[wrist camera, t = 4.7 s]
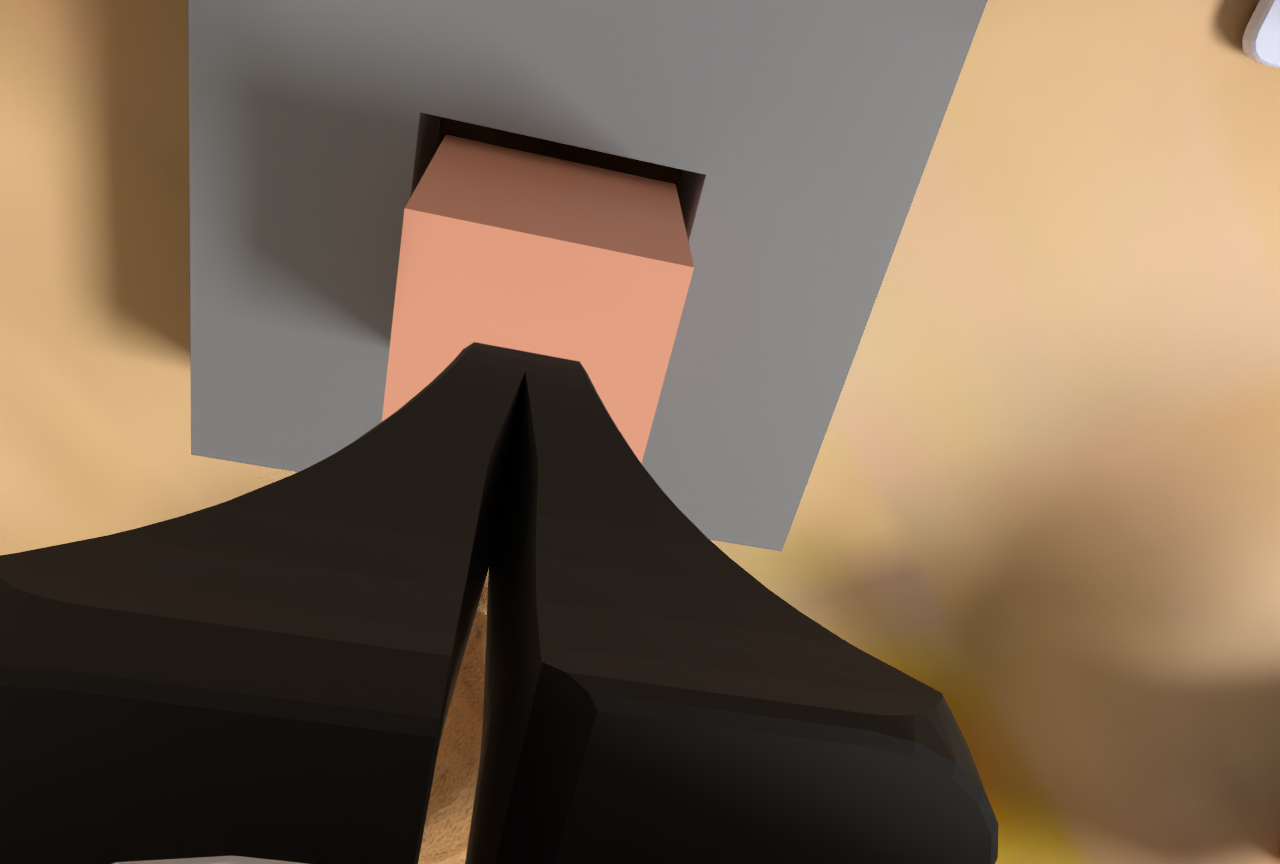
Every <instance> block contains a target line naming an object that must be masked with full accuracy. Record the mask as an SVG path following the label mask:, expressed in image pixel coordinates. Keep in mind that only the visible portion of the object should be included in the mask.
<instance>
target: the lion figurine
mask: <svg viewBox="0 0 1280 864" xmlns="http://www.w3.org/2000/svg"><path fill="white" fill-rule="evenodd" d="M486 629H487V615H486V614H485V613H483V612H482V611H481V610H480V609H479V608H477V611H476V615H475V619H474V622H473V626H472V629H471V633H470V636H469V640H468V643H467V647H466V650H465V654H464V657H463V661H462V664H461V668H460V671H459V675H458V678H457V682H456V685H455V689H454V692H453V696H452V700H451V703H450V707H449V710H448V714H447V717H446V721H445V725H444V729H443V734H442V738H441V742H440V746H439V751H438V755H437V760H436V766H435V771H434V777H433V783H432V788H431V794H430V799H429V805H428V811H427V816H426V822H425V827H424V833H423V839H422V844H421V850H420V855H419V861H418V864H465V860H466V854H467V847H468V840H469V833H470V826H471V819H472V812H473V805H474V798H475V791H476V784H477V777H478V770H479V762H480V752H481V740H482V728H483V707H484V681H485V655H486Z"/></svg>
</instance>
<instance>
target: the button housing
mask: <svg viewBox="0 0 1280 864" xmlns="http://www.w3.org/2000/svg"><path fill="white" fill-rule="evenodd" d="M986 2H987V0H188V34H189V189H190V343H191V455H197V456H203V457H209V458H216V459H222V460H228V461H234V462H240V463H246V464H252V465H258V466H264V467H270V468H277V469H283V470H289V471H295V472H300V471H302V470H304V469H306V468H308V467H310V466H312V465H314V464H316V463H318V462H320V461H322V460H323V459H325V458H327V457H329V456H331V455H333V454H334V453H336V452H338V451H339V450H341V449H343V448H344V447H346V446H347V445H349V444H351V443H352V442H354V441H355V440H357V439H358V438H360V437H361V436H362V435H364V434H365V433H367V432H368V431H370V430H371V429H372V428H374V427H375V426H377V425H378V424H379V423H381V422H382V414H383V405H384V395H385V386H386V377H387V367H388V358H389V349H390V339H391V330H392V321H393V311H394V302H395V293H396V283H397V274H398V265H399V255H400V246H401V237H402V227H403V218H404V208H405V207H406V205H407V203H408V201H409V199H410V198H411V196H412V194H413V192H414V191H415V189H416V187H417V185H418V183H419V182H420V180H421V178H422V176H423V175H424V173H425V171H426V169H427V167H428V166H429V164H430V162H431V160H432V159H433V157H434V155H435V153H436V151H437V144H438V136H439V127H440V119H441V117H444V118H448V119H453V120H458V121H462V122H467V123H471V124H476V125H480V126H485V127H490V128H494V129H499V130H503V131H508V132H512V133H517V134H522V135H526V136H531V137H535V138H540V139H544V140H549V141H554V142H558V143H563V144H567V145H572V146H577V147H581V148H586V149H590V150H595V151H599V152H604V153H609V154H613V155H618V156H622V157H627V158H631V159H636V160H641V161H645V162H650V163H654V164H659V165H663V166H668V167H673V168H677V169H682V174H681V178H680V182H679V186H678V190H677V193H678V197H679V202H680V206H681V211H682V215H683V220H684V224H685V229H686V233H687V238H688V242H689V247H690V251H691V256H692V260H693V265H694V270H693V274H692V277H691V281H690V285H689V289H688V292H687V296H686V300H685V304H684V307H683V311H682V315H681V318H680V322H679V326H678V330H677V333H676V337H675V341H674V345H673V348H672V352H671V356H670V359H669V363H668V367H667V371H666V374H665V378H664V382H663V386H662V389H661V393H660V397H659V400H658V404H657V408H656V412H655V415H654V419H653V423H652V427H651V430H650V434H649V438H648V442H647V445H646V449H645V453H644V456H643V460H642V465H643V466H644V468H645V469H646V470H647V471H648V473H649V474H650V475H651V477H652V478H653V479H654V480H655V482H656V483H657V484H658V485H659V487H660V488H661V489H662V490H663V492H664V493H665V494H666V495H667V496H668V497H669V498H670V500H671V501H672V502H673V503H674V504H675V505H676V506H677V507H678V509H679V510H680V511H681V512H682V513H683V514H684V515H685V516H686V517H687V518H688V519H689V520H690V521H691V522H692V523H693V524H694V525H695V526H696V527H697V528H698V529H699V530H700V531H701V532H702V533H703V534H704V535H705V536H706V537H707V538H708V539H709V540H716V541H722V542H728V543H734V544H740V545H746V546H752V547H758V548H764V549H770V550H777V551H782V549H783V546H784V543H785V541H786V538H787V535H788V533H789V530H790V527H791V525H792V522H793V519H794V516H795V514H796V511H797V508H798V506H799V503H800V500H801V498H802V495H803V492H804V490H805V487H806V484H807V482H808V479H809V476H810V474H811V471H812V468H813V466H814V463H815V460H816V458H817V455H818V452H819V450H820V447H821V444H822V442H823V439H824V436H825V433H826V431H827V428H828V425H829V423H830V420H831V417H832V415H833V412H834V409H835V407H836V404H837V401H838V399H839V396H840V393H841V391H842V388H843V385H844V383H845V380H846V377H847V375H848V372H849V369H850V367H851V364H852V361H853V359H854V356H855V353H856V350H857V348H858V345H859V342H860V340H861V337H862V334H863V332H864V329H865V326H866V324H867V321H868V318H869V316H870V313H871V310H872V308H873V305H874V302H875V300H876V297H877V294H878V292H879V289H880V286H881V284H882V281H883V278H884V276H885V273H886V270H887V267H888V265H889V262H890V259H891V257H892V254H893V251H894V249H895V246H896V243H897V241H898V238H899V235H900V233H901V230H902V227H903V225H904V222H905V219H906V217H907V214H908V211H909V209H910V206H911V203H912V201H913V198H914V195H915V193H916V190H917V187H918V184H919V182H920V179H921V176H922V174H923V171H924V168H925V166H926V163H927V160H928V158H929V155H930V152H931V150H932V147H933V144H934V142H935V139H936V136H937V134H938V131H939V128H940V126H941V123H942V120H943V118H944V115H945V112H946V110H947V107H948V104H949V101H950V99H951V96H952V93H953V91H954V88H955V85H956V83H957V80H958V77H959V75H960V72H961V69H962V67H963V64H964V61H965V59H966V56H967V53H968V51H969V48H970V45H971V43H972V40H973V37H974V35H975V32H976V29H977V27H978V24H979V21H980V18H981V16H982V13H983V10H984V8H985V5H986Z"/></svg>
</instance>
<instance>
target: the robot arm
mask: <svg viewBox="0 0 1280 864" xmlns="http://www.w3.org/2000/svg"><path fill="white" fill-rule="evenodd" d="M1242 43H1243V50H1244V52H1245V54H1246V56H1247V57H1248V58H1250V59H1252V60H1253V61H1255V62H1258V63H1261V64H1265V65H1269V66H1272V67H1276V68H1280V0H1260V1H1259V3H1258V5H1257V7H1256V9H1255V11H1254V13H1253V15H1252V17H1251V19H1250V21H1249V23H1248V25H1247V27H1246V29H1245V32H1244V35H1243V38H1242ZM488 569H489V580H488V604H487V629H486V655H485V681H484V707H483V728H482V740H481V752H480V762H479V770H478V777H477V784H476V791H475V798H474V805H473V812H472V819H471V826H470V833H469V840H468V847H467V854H466V860H465V864H995V862H996V860H997V855H998V822H997V820H996V817H995V815H994V812H993V810H992V808H991V805H990V803H989V800H988V798H987V795H986V793H985V791H984V788H983V785H982V782H981V780H980V777H979V774H978V771H977V769H976V766H975V764H974V761H973V759H972V756H971V753H970V751H969V748H968V746H967V743H966V741H965V739H964V737H963V735H962V733H961V731H960V729H959V727H958V725H957V723H956V721H955V719H954V717H953V715H952V713H951V711H950V709H949V707H948V705H947V703H946V701H945V699H944V697H943V695H942V693H940V692H938V691H937V690H935V689H933V688H931V687H929V686H927V685H925V684H924V683H922V682H920V681H918V680H916V679H914V678H912V677H910V676H909V675H907V674H905V673H903V672H901V671H899V670H897V669H896V668H894V667H892V666H890V665H888V664H886V663H884V662H882V661H881V660H879V659H877V658H875V657H873V656H871V655H869V654H867V653H866V652H864V651H862V650H860V649H858V648H856V647H854V646H853V645H851V644H849V643H848V642H846V641H844V640H843V639H841V638H840V637H838V636H837V635H835V634H833V633H832V632H830V631H829V630H827V629H826V628H824V627H823V626H821V625H820V624H818V623H816V622H815V621H813V620H812V619H810V618H809V617H807V616H806V615H804V614H803V613H801V612H799V611H798V610H797V609H795V608H794V607H792V606H791V605H790V604H788V603H787V602H785V601H784V600H783V599H781V598H780V597H778V596H777V595H776V594H774V593H773V592H771V591H770V590H769V589H767V588H766V587H765V586H764V585H762V584H761V583H760V582H759V581H758V580H756V579H755V578H754V577H753V576H751V575H750V574H749V573H748V572H746V571H745V570H744V569H743V568H741V567H740V566H739V565H738V564H737V563H735V562H734V561H733V560H732V559H730V558H729V557H728V556H727V555H726V554H725V553H724V552H722V551H721V550H720V549H719V548H718V547H717V546H716V545H715V544H714V543H712V542H711V541H710V540H709V539H708V538H707V537H706V536H705V535H704V534H703V533H702V532H701V531H700V530H699V529H698V528H697V527H696V526H695V525H694V524H693V523H692V522H691V521H690V520H689V519H688V518H687V517H686V516H685V515H684V514H683V513H682V512H681V511H680V510H679V509H678V507H677V506H676V505H675V504H674V503H673V502H672V501H671V500H670V498H669V497H668V496H667V495H666V494H665V493H664V492H663V490H662V489H661V488H660V487H659V485H658V484H657V483H656V482H655V480H654V479H653V478H652V477H651V475H650V474H649V473H648V471H647V470H646V469H645V468H644V466H643V465H642V464H641V462H640V461H639V460H638V458H637V457H636V455H635V454H634V452H633V451H632V449H631V448H630V446H629V445H628V443H627V442H626V440H625V439H624V437H623V435H622V434H621V432H620V431H619V429H618V428H617V426H616V424H615V423H614V421H613V420H612V418H611V416H610V414H609V413H608V411H607V409H606V407H605V406H604V404H603V402H602V400H601V399H600V397H599V395H598V393H597V391H596V389H595V387H594V385H593V384H592V382H591V380H590V378H589V376H588V374H587V372H586V370H585V369H584V367H583V366H582V364H581V363H580V361H574V360H569V359H563V358H558V357H552V356H547V355H542V354H536V353H531V352H525V351H520V350H515V349H509V348H504V347H498V346H493V345H488V344H482V343H477V342H474V343H472V344H471V345H469V346H467V347H466V348H464V349H463V350H462V351H461V352H460V354H459V355H458V356H457V357H456V358H455V359H454V360H453V361H452V362H451V363H450V364H449V365H448V366H447V367H446V368H445V369H444V370H443V371H442V372H441V373H440V374H439V375H438V376H437V377H436V378H435V379H434V380H433V381H432V382H431V383H430V384H429V385H427V386H426V387H425V388H424V389H423V390H421V391H420V392H419V393H418V394H417V395H416V396H414V397H413V398H412V399H411V400H410V401H408V402H407V403H406V404H405V405H404V406H402V407H401V408H400V409H399V410H397V411H396V412H395V413H394V414H392V415H391V416H389V417H388V418H387V419H385V420H384V421H382V422H381V423H379V424H378V425H377V426H375V427H374V428H372V429H371V430H370V431H368V432H367V433H365V434H364V435H362V436H361V437H360V438H358V439H357V440H355V441H354V442H352V443H351V444H349V445H347V446H346V447H344V448H343V449H341V450H339V451H338V452H336V453H334V454H333V455H331V456H329V457H327V458H325V459H323V460H322V461H320V462H318V463H316V464H314V465H312V466H310V467H308V468H306V469H304V470H302V471H300V472H298V473H296V474H294V475H291V476H289V477H286V478H284V479H281V480H279V481H276V482H274V483H272V484H269V485H267V486H264V487H262V488H259V489H257V490H254V491H252V492H249V493H247V494H244V495H242V496H239V497H237V498H234V499H232V500H230V501H227V502H224V503H221V504H218V505H215V506H212V507H209V508H206V509H203V510H200V511H196V512H193V513H190V514H187V515H184V516H181V517H177V518H174V519H170V520H166V521H163V522H159V523H155V524H152V525H148V526H144V527H141V528H137V529H133V530H129V531H125V532H120V533H116V534H112V535H108V536H103V537H98V538H92V539H87V540H82V541H77V542H72V543H67V544H61V545H56V546H51V547H46V548H41V549H35V550H30V551H25V552H20V553H15V554H8V555H2V556H0V864H418V861H419V855H420V850H421V844H422V839H423V833H424V827H425V822H426V816H427V811H428V805H429V799H430V794H431V788H432V783H433V777H434V771H435V766H436V760H437V755H438V751H439V746H440V742H441V738H442V734H443V729H444V725H445V721H446V717H447V714H448V710H449V707H450V703H451V700H452V696H453V692H454V689H455V685H456V682H457V678H458V675H459V671H460V668H461V664H462V661H463V657H464V654H465V650H466V647H467V643H468V640H469V636H470V633H471V629H472V626H473V622H474V619H475V615H476V611H477V608H478V604H479V601H480V597H481V594H482V590H483V587H484V583H485V580H486V576H487V572H488Z"/></svg>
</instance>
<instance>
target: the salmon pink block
mask: <svg viewBox="0 0 1280 864" xmlns="http://www.w3.org/2000/svg"><path fill="white" fill-rule="evenodd" d="M693 270H694V265H693V260H692V256H691V251H690V247H689V242H688V238H687V233H686V229H685V224H684V220H683V215H682V211H681V206H680V202H679V197H678V193H677V188H676V184H672V183H668V182H663V181H658V180H654V179H649V178H645V177H640V176H635V175H631V174H626V173H621V172H617V171H612V170H608V169H603V168H598V167H594V166H589V165H584V164H580V163H575V162H571V161H566V160H561V159H557V158H552V157H547V156H543V155H538V154H534V153H529V152H524V151H520V150H515V149H510V148H506V147H501V146H497V145H492V144H487V143H483V142H478V141H473V140H469V139H464V138H460V137H455V136H450V135H445V137H444V139H443V141H442V143H441V144H440V146H439V148H438V150H437V151H436V153H435V155H434V157H433V159H432V160H431V162H430V164H429V166H428V167H427V169H426V171H425V173H424V175H423V176H422V178H421V180H420V182H419V183H418V185H417V187H416V189H415V191H414V192H413V194H412V196H411V198H410V199H409V201H408V203H407V205H406V207H405V208H404V218H403V227H402V237H401V246H400V255H399V265H398V274H397V283H396V293H395V302H394V311H393V321H392V330H391V339H390V349H389V358H388V367H387V377H386V386H385V395H384V405H383V414H382V421H384V420H385V419H387V418H388V417H389V416H391V415H392V414H394V413H395V412H396V411H397V410H399V409H400V408H401V407H402V406H404V405H405V404H406V403H407V402H408V401H410V400H411V399H412V398H413V397H414V396H416V395H417V394H418V393H419V392H420V391H421V390H423V389H424V388H425V387H426V386H427V385H429V384H430V383H431V382H432V381H433V380H434V379H435V378H436V377H437V376H438V375H439V374H440V373H441V372H442V371H443V370H444V369H445V368H446V367H447V366H448V365H449V364H450V363H451V362H452V361H453V360H454V359H455V358H456V357H457V356H458V355H459V354H460V352H461V351H462V350H463V349H464V348H466V347H467V346H469V345H471V344H472V343H474V342H477V343H482V344H488V345H493V346H498V347H504V348H509V349H515V350H520V351H525V352H531V353H536V354H542V355H547V356H552V357H558V358H563V359H569V360H574V361H580V363H581V364H582V366H583V367H584V369H585V370H586V372H587V374H588V376H589V378H590V380H591V382H592V384H593V385H594V387H595V389H596V391H597V393H598V395H599V397H600V399H601V400H602V402H603V404H604V406H605V407H606V409H607V411H608V413H609V414H610V416H611V418H612V420H613V421H614V423H615V424H616V426H617V428H618V429H619V431H620V432H621V434H622V435H623V437H624V439H625V440H626V442H627V443H628V445H629V446H630V448H631V449H632V451H633V452H634V454H635V455H636V457H637V458H638V460H639V461H640V462H641V464H642V460H643V456H644V453H645V449H646V445H647V442H648V438H649V434H650V430H651V427H652V423H653V419H654V415H655V412H656V408H657V404H658V400H659V397H660V393H661V389H662V386H663V382H664V378H665V374H666V371H667V367H668V363H669V359H670V356H671V352H672V348H673V345H674V341H675V337H676V333H677V330H678V326H679V322H680V318H681V315H682V311H683V307H684V304H685V300H686V296H687V292H688V289H689V285H690V281H691V277H692V274H693Z"/></svg>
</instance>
